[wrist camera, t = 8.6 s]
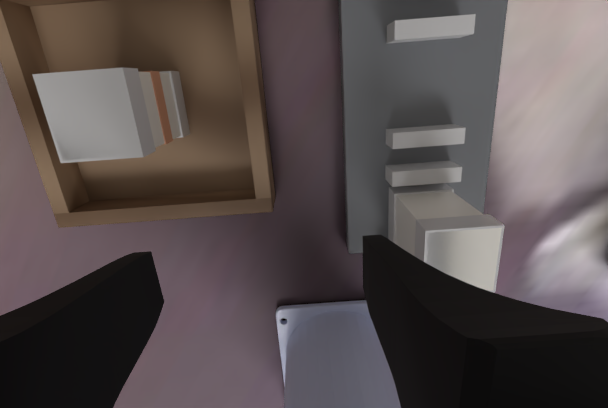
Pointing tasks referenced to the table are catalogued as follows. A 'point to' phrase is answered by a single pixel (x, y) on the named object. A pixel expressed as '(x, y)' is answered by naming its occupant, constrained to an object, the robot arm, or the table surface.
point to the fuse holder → (416, 101)
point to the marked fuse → (112, 112)
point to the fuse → (446, 232)
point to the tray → (145, 57)
